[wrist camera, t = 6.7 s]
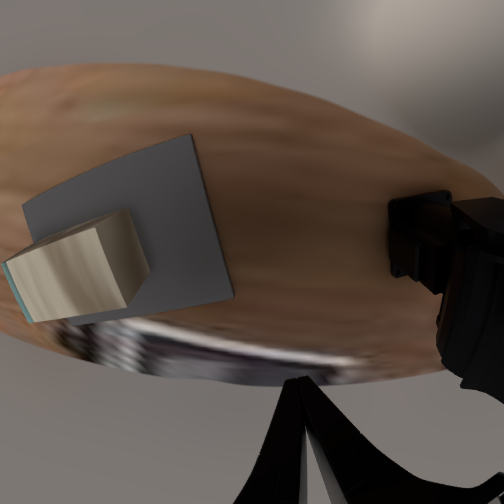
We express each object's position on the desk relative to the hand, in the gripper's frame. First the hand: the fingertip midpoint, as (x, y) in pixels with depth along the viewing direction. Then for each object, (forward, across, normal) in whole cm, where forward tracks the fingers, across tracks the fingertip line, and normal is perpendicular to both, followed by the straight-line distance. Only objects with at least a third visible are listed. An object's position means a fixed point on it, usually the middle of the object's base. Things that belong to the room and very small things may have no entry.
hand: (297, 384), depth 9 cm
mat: (+12, +11, -4) cm, 17 cm away
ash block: (+9, +9, -4) cm, 13 cm away
